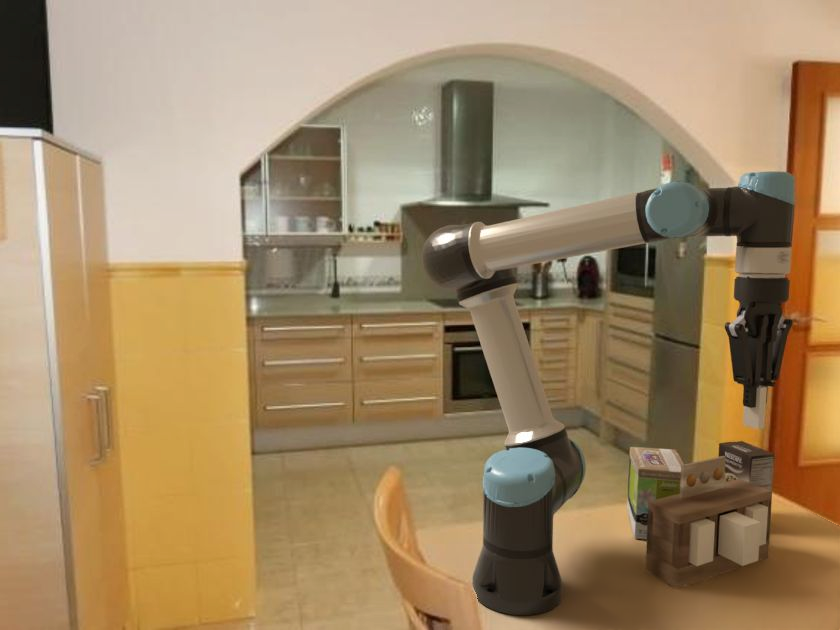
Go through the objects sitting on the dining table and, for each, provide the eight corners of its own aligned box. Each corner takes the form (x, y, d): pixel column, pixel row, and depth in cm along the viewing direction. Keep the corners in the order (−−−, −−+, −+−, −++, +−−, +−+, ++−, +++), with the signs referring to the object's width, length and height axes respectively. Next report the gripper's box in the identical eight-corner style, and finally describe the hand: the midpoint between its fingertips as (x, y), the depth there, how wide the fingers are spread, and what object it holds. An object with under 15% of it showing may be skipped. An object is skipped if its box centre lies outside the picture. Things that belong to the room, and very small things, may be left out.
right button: (727, 537, 125) (729, 501, 124) (741, 533, 127) (743, 497, 126) (751, 548, 121) (753, 511, 120) (765, 543, 123) (768, 507, 122)
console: (645, 570, 121) (649, 469, 119) (735, 542, 132) (740, 448, 130) (676, 588, 115) (681, 481, 112) (768, 557, 126) (774, 459, 123)
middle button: (717, 553, 119) (719, 515, 118) (733, 548, 121) (735, 511, 120) (742, 565, 114) (744, 526, 114) (758, 560, 116) (760, 522, 115)
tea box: (687, 544, 131) (690, 471, 130) (633, 539, 133) (636, 468, 132) (673, 513, 146) (676, 447, 144) (625, 509, 148) (628, 444, 146)
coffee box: (713, 515, 145) (717, 442, 143) (737, 511, 147) (741, 439, 145) (745, 532, 136) (750, 455, 134) (771, 528, 138) (775, 452, 136)
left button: (673, 553, 119) (675, 516, 118) (689, 549, 121) (691, 511, 120) (696, 566, 114) (698, 527, 114) (712, 560, 116) (714, 522, 115)
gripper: (755, 278, 96) (746, 438, 99) (812, 275, 102) (802, 427, 104) (711, 275, 102) (704, 426, 105) (767, 273, 108) (759, 415, 111)
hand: (753, 426), depth 105 cm, fingers closed
